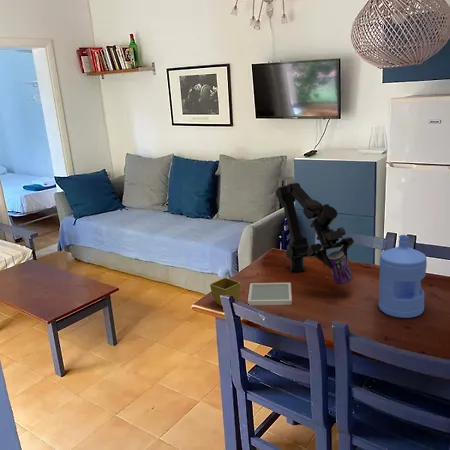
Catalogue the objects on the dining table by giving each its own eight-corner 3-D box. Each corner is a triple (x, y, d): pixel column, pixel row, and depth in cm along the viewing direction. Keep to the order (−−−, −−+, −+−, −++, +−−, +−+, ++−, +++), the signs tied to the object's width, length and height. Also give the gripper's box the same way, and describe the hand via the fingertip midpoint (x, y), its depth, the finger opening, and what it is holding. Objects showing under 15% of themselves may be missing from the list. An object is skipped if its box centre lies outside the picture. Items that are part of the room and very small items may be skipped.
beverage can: (349, 286, 179) (340, 259, 175) (332, 286, 184) (323, 259, 180) (355, 276, 184) (347, 250, 180) (338, 276, 189) (331, 250, 185)
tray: (250, 287, 199) (250, 283, 199) (290, 286, 197) (290, 282, 196) (247, 305, 183) (247, 301, 182) (291, 304, 181) (291, 300, 180)
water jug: (369, 307, 175) (370, 235, 167) (398, 295, 182) (401, 227, 174) (403, 323, 161) (406, 247, 153) (433, 310, 169) (438, 236, 161)
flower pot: (226, 297, 191) (225, 277, 189) (242, 303, 185) (241, 282, 183) (211, 305, 186) (209, 284, 183) (226, 311, 179) (224, 289, 177)
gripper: (310, 225, 177) (326, 262, 170) (351, 217, 183) (369, 252, 176) (300, 239, 186) (315, 274, 180) (340, 231, 192) (355, 264, 186)
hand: (339, 266), depth 180 cm, fingers closed on beverage can, 7 cm apart
